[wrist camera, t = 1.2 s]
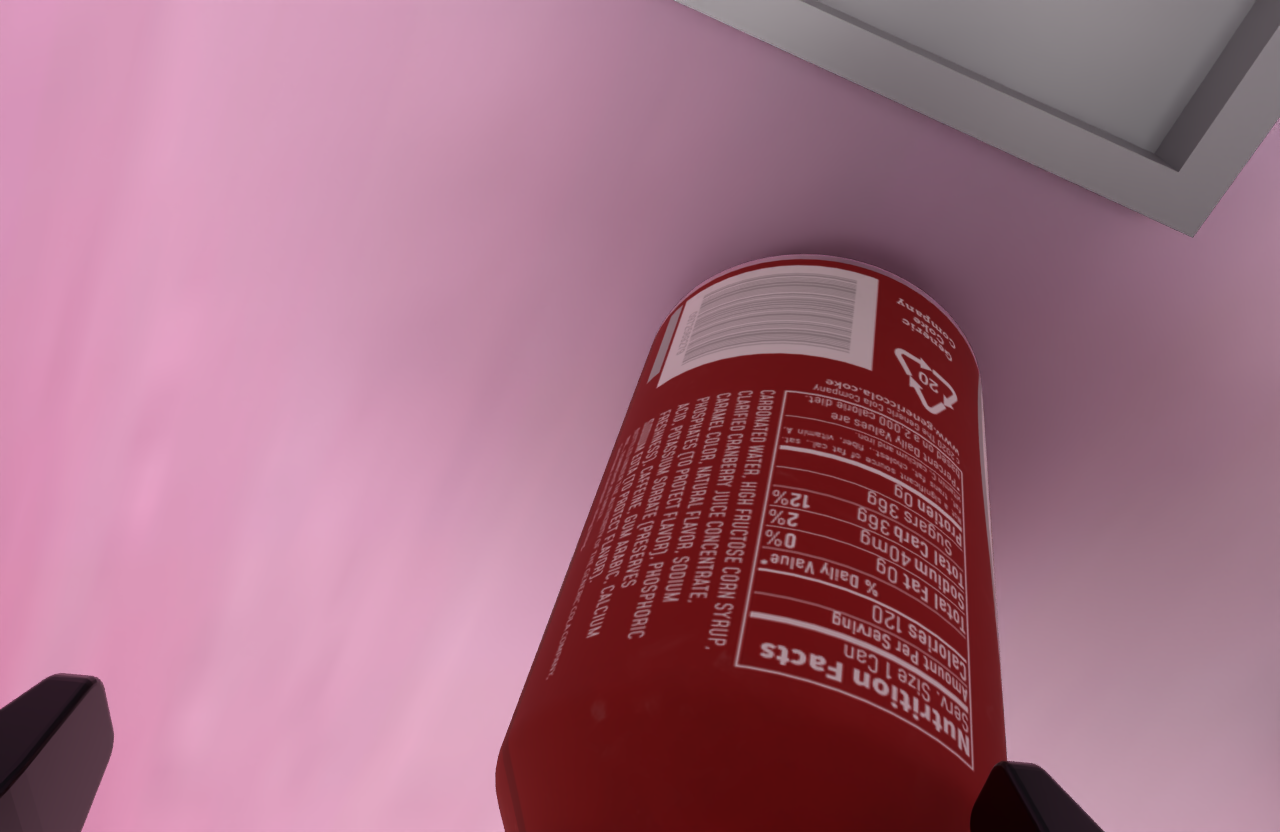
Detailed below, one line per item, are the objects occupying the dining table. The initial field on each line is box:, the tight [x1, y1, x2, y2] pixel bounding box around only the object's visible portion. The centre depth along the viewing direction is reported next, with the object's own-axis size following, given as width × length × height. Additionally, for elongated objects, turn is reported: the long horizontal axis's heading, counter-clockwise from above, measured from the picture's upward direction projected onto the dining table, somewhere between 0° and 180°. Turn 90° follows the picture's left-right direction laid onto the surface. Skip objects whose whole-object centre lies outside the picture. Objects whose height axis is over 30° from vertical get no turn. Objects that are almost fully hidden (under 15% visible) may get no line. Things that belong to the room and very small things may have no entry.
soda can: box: [495, 254, 1007, 832], centre depth 16 cm, size 7×7×12 cm
